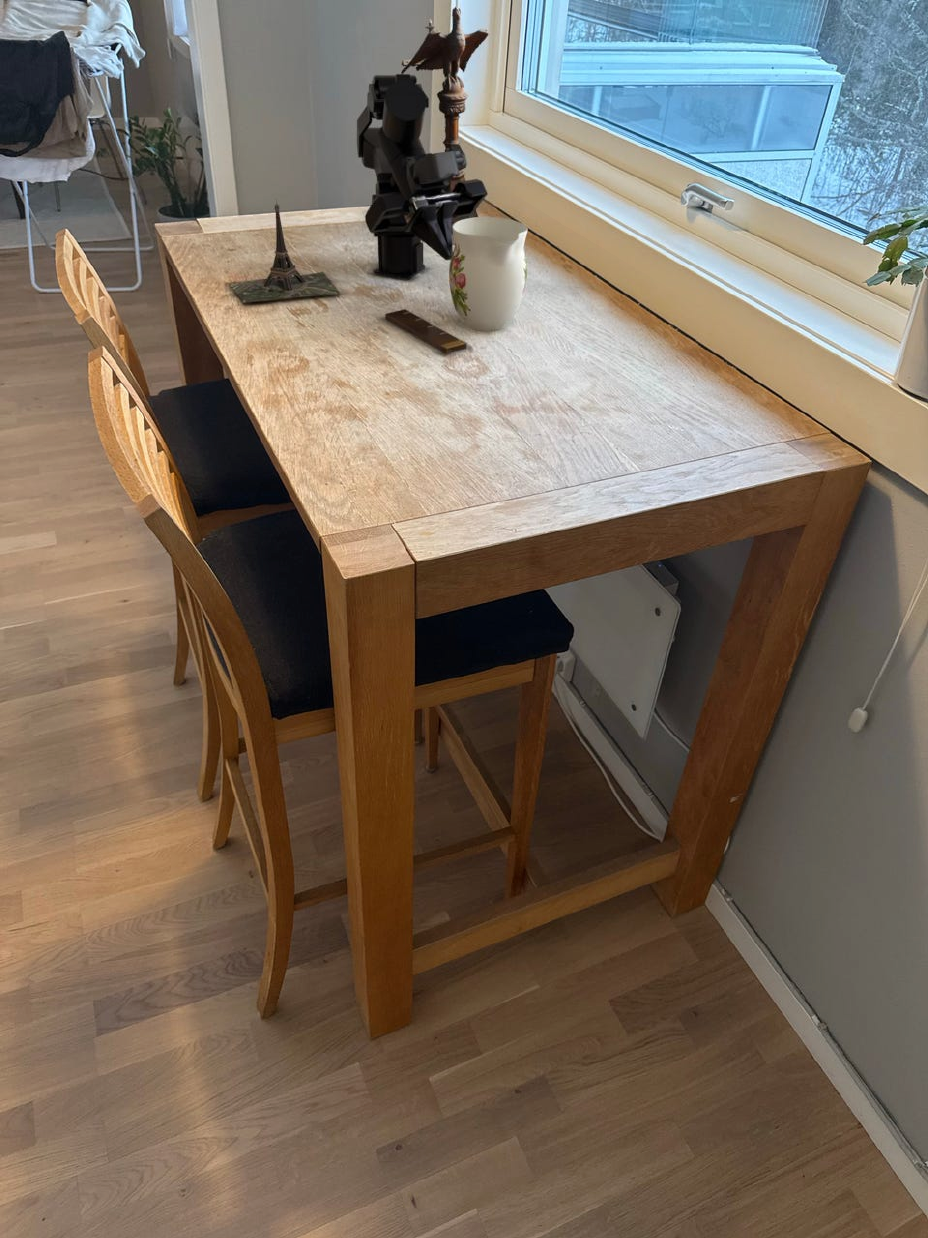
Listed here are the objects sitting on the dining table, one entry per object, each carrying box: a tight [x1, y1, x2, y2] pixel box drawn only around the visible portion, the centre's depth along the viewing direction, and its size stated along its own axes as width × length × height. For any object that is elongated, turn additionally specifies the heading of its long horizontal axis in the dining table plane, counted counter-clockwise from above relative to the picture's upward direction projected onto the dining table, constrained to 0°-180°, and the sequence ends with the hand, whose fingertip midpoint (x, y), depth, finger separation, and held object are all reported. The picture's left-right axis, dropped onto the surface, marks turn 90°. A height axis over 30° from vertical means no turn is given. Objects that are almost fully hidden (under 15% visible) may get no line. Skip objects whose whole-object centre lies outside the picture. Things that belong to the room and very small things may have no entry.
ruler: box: [384, 308, 467, 355], centre depth 127 cm, size 15×4×1 cm, turn 37°
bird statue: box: [400, 6, 489, 245], centre depth 153 cm, size 17×13×35 cm
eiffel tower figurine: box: [229, 199, 341, 304], centre depth 134 cm, size 15×10×13 cm
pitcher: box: [448, 216, 529, 332], centre depth 127 cm, size 11×18×14 cm, turn 19°
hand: (449, 258), depth 132 cm, fingers closed
